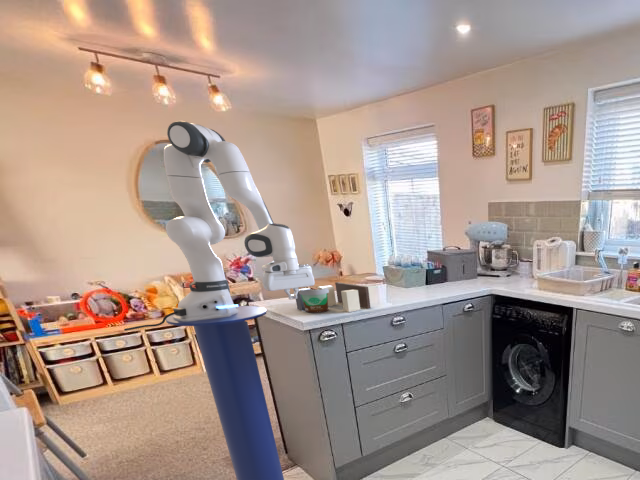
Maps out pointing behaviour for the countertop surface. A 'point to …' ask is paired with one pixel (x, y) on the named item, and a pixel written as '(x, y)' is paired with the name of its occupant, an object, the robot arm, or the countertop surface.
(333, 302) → the cream block back
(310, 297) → the food container
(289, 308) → the countertop surface
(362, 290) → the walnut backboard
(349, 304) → the cream block front
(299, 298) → the grey block
